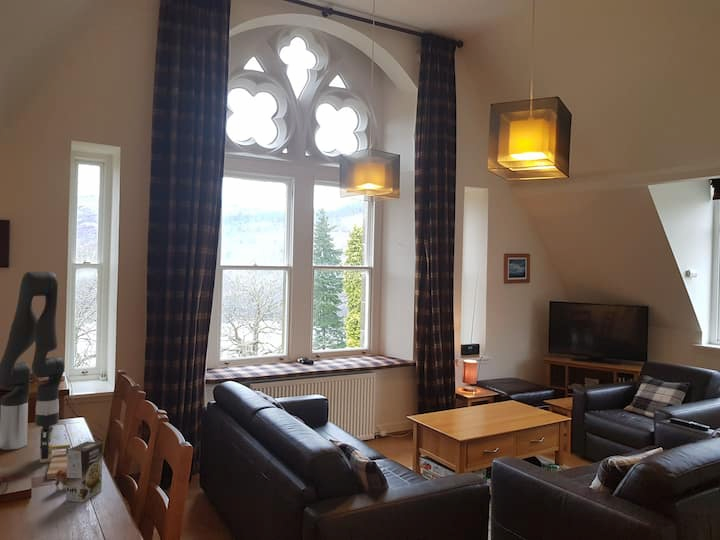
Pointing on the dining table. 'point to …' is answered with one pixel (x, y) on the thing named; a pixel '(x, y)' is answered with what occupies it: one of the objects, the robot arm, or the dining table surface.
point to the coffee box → (84, 471)
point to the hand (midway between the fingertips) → (46, 454)
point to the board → (57, 463)
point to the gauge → (53, 449)
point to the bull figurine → (61, 477)
